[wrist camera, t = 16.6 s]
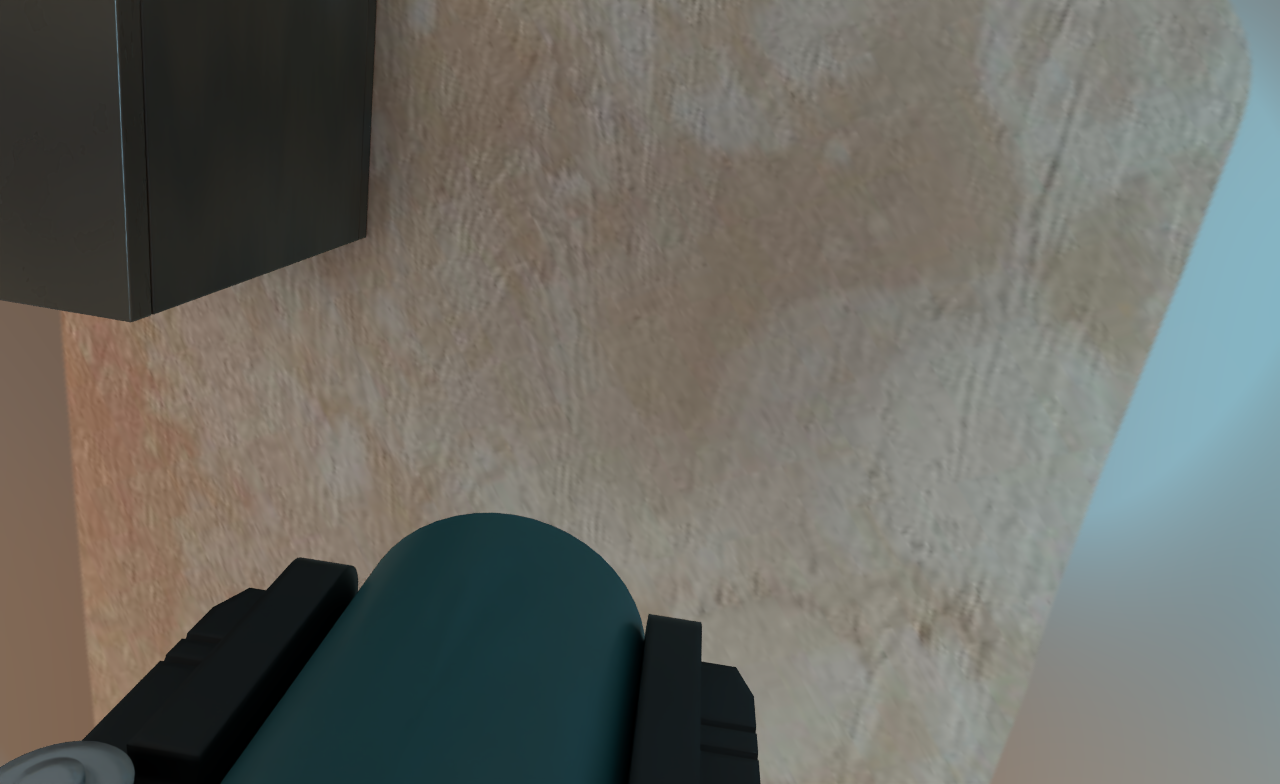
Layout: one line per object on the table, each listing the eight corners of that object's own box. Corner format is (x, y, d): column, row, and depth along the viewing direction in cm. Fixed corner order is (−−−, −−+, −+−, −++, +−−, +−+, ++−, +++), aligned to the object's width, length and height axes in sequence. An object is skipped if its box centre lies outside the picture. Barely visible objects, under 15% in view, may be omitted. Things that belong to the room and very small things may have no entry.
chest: (150, -87, 31) (-260, -234, 18) (379, -50, 31) (134, -173, 17) (161, 203, 34) (-177, 258, 21) (366, 237, 34) (153, 315, 21)
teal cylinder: (462, 452, 11) (268, 728, 6) (705, 626, 11) (703, 1004, 7) (310, 651, 12) (47, 1012, 7) (536, 800, 12) (432, 1224, 8)
